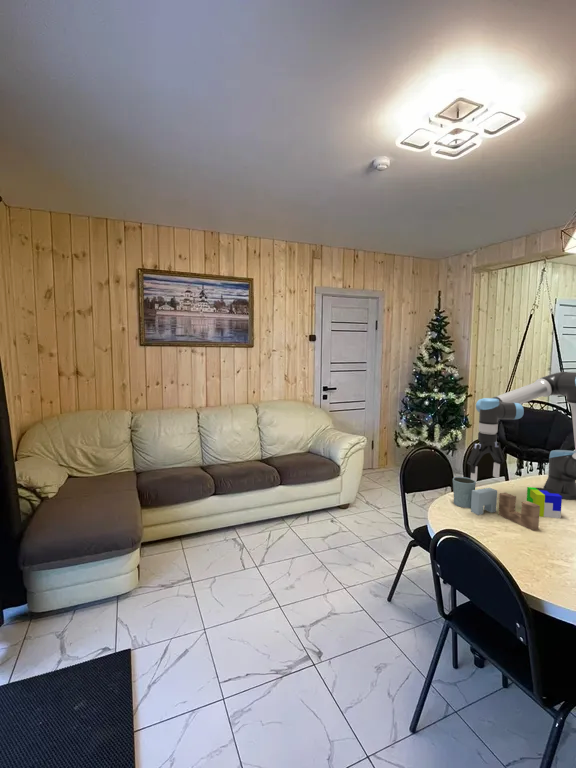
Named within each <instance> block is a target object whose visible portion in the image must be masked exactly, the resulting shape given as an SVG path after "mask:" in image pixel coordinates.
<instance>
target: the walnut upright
mask: <svg viewBox="0 0 576 768" xmlns="http://www.w3.org/2000/svg"><path fill="white" fill-rule="evenodd" d="M498 495H499V496H498V513H497V514H498V516H500V517H502V518H504V519H506V520H508V521H511V522H512V523H515V524H516V525H519V526H521V527H524V528H525V529H528V530H530V531H537V530H539V524H540V517H539V512H540V506H539V505H537V504H534V503H531V502H529V501H527V500H526V501H522V502H521V508H520V509H521V511H520V512H519V511H516V501H517V500H516V499H517V496H516V495H512V494H510V493H508V492H500V493H499V494H498Z"/></svg>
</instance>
